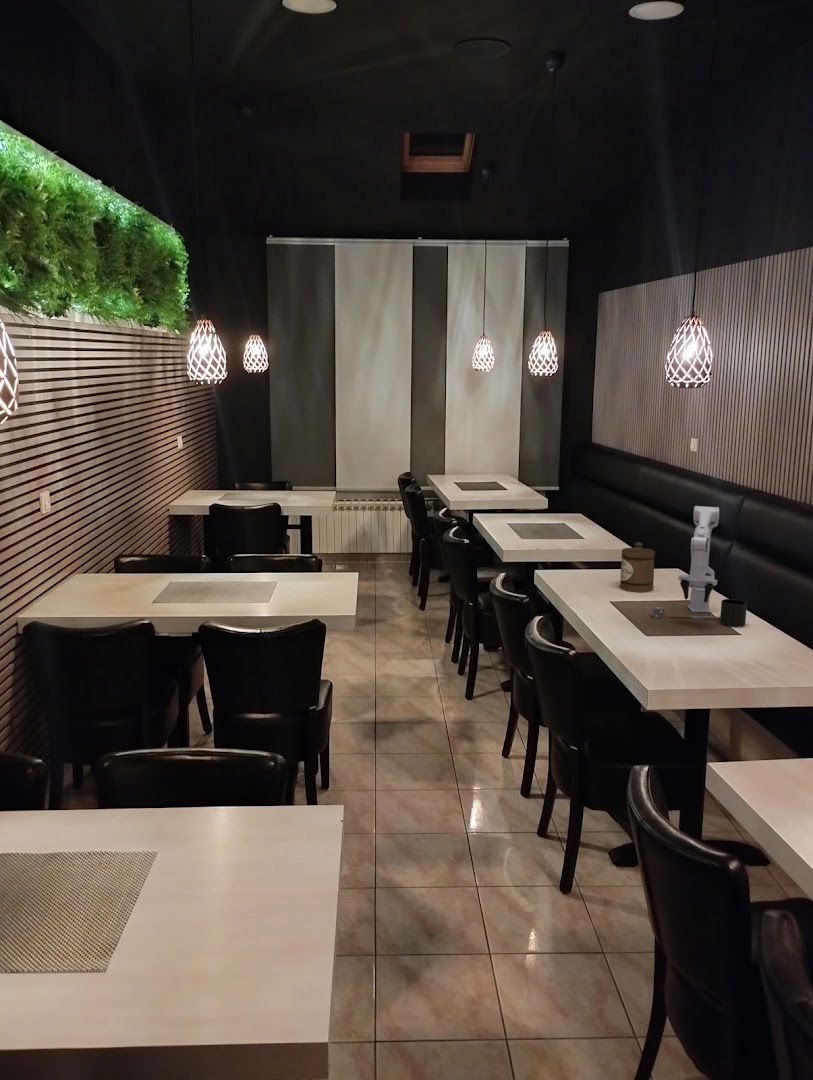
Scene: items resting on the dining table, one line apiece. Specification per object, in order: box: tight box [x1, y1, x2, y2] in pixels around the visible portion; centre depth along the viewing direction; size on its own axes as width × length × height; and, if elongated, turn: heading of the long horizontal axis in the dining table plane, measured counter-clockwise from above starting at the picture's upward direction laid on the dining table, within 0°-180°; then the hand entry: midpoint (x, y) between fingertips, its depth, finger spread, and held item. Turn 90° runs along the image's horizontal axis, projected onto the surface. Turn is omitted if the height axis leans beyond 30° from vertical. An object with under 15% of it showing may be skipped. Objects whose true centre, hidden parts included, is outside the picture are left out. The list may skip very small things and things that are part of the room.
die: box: [651, 606, 665, 619], centre depth 352 cm, size 4×4×4 cm
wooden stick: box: [665, 614, 720, 621], centre depth 351 cm, size 2×28×1 cm, turn 83°
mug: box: [719, 598, 748, 628], centre depth 341 cm, size 9×12×9 cm
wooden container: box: [619, 541, 656, 593], centre depth 398 cm, size 15×15×22 cm
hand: (696, 600), depth 340 cm, fingers open, 7 cm apart
